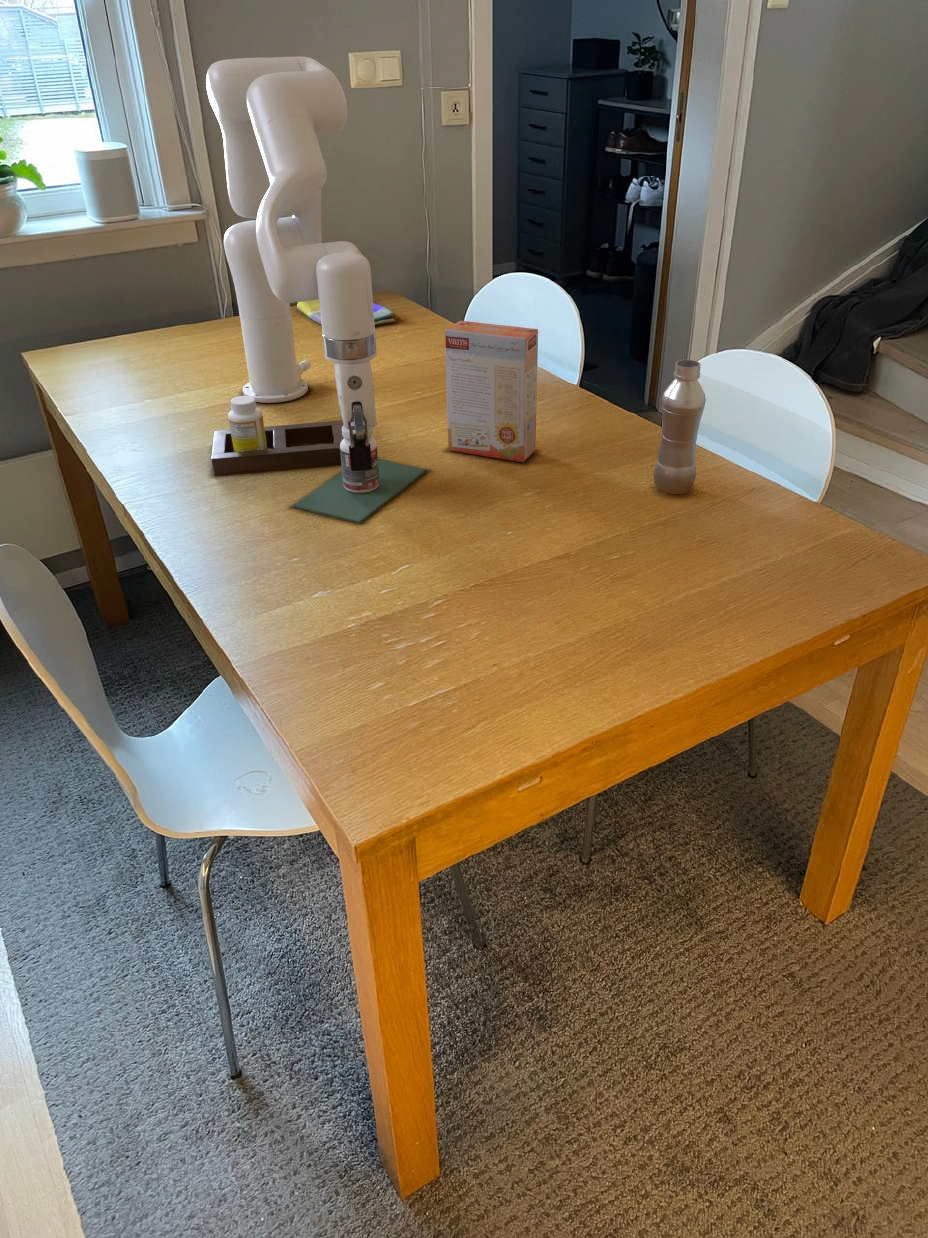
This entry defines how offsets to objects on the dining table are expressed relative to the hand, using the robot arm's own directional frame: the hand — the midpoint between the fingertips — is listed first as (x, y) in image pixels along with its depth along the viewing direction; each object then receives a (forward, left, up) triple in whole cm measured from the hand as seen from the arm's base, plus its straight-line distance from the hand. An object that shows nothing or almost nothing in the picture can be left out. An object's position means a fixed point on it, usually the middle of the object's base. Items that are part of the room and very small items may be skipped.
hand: (359, 459), depth 144 cm
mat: (0, 0, -5) cm, 5 cm away
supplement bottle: (-2, -23, -5) cm, 24 cm away
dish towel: (-79, -56, -5) cm, 97 cm away
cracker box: (-22, +12, -5) cm, 26 cm away
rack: (-5, -19, -5) cm, 21 cm away
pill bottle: (0, 0, -5) cm, 5 cm away
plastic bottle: (-21, +44, -5) cm, 49 cm away
